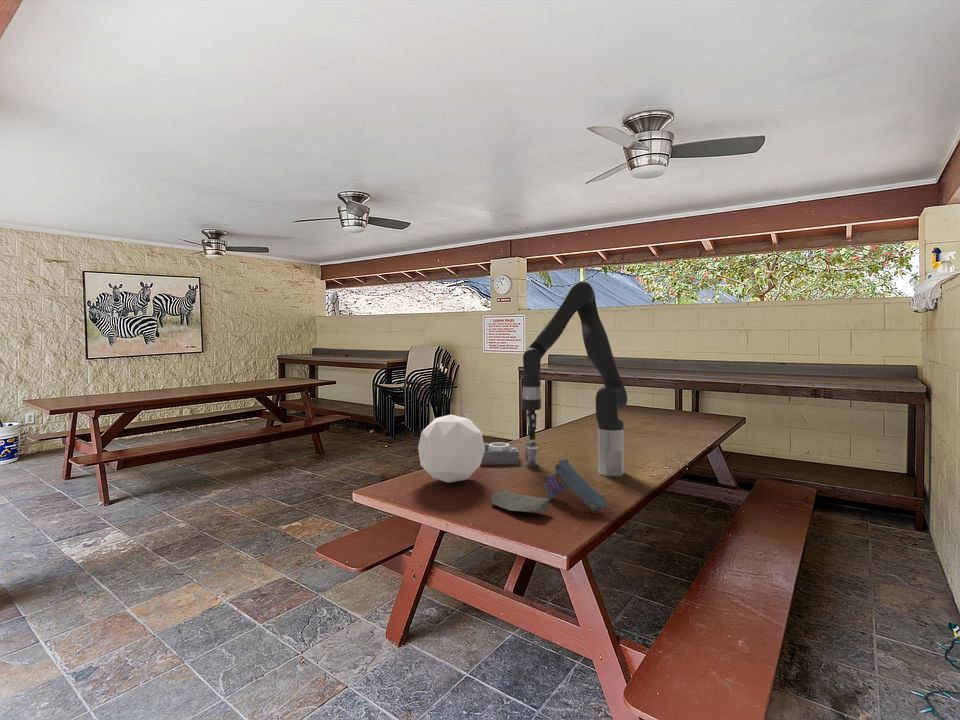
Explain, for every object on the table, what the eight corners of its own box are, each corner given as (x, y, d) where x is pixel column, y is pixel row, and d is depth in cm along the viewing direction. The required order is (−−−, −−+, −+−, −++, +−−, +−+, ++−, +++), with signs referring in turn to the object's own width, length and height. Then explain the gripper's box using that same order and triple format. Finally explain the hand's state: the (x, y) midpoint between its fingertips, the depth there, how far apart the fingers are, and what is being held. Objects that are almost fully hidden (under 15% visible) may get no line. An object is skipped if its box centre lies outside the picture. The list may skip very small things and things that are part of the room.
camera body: (518, 466, 203) (518, 446, 203) (479, 466, 204) (479, 446, 203) (517, 460, 214) (517, 440, 214) (480, 460, 214) (480, 441, 214)
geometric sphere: (453, 469, 199) (452, 407, 198) (498, 482, 181) (498, 414, 180) (404, 482, 182) (403, 414, 181) (449, 497, 165) (448, 422, 163)
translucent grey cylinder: (538, 469, 199) (538, 443, 198) (526, 469, 199) (525, 443, 198) (536, 466, 204) (536, 441, 203) (525, 466, 204) (524, 441, 204)
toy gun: (545, 486, 166) (564, 453, 160) (590, 534, 154) (612, 500, 147) (539, 488, 164) (558, 454, 158) (583, 537, 151) (605, 502, 145)
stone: (481, 501, 158) (501, 487, 165) (484, 512, 158) (504, 497, 165) (534, 511, 143) (553, 494, 150) (537, 522, 143) (556, 505, 150)
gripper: (542, 400, 193) (542, 441, 194) (539, 395, 207) (539, 433, 208) (523, 399, 193) (523, 441, 194) (521, 395, 208) (521, 433, 209)
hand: (531, 437), depth 201 cm, fingers open, 8 cm apart
